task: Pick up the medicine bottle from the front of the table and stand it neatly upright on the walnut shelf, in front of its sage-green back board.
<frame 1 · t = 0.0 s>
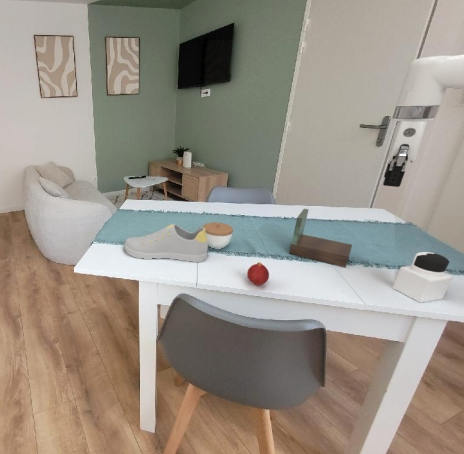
hand: (391, 181, 78), 30 cm above the table, tool pointing down, fingers open, 9 cm apart
shoe: (164, 255, 108), on the table
trinket box: (215, 246, 113), on the table
onion: (255, 285, 88), on the table
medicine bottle: (416, 294, 81), on the table
shelf: (318, 254, 103), on the table
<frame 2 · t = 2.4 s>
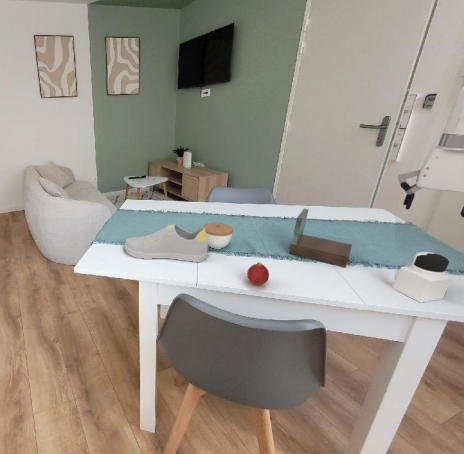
hand: (433, 211, 73), 23 cm above the table, tool pointing down, fingers open, 9 cm apart
nothing on the table moved.
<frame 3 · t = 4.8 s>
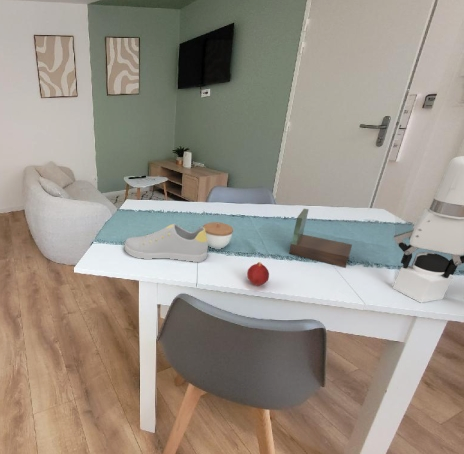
hand: (424, 270, 78), 7 cm above the table, tool pointing down, fingers closed on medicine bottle, 6 cm apart
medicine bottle: (416, 294, 80), on the table, touching gripper
everything else where it was.
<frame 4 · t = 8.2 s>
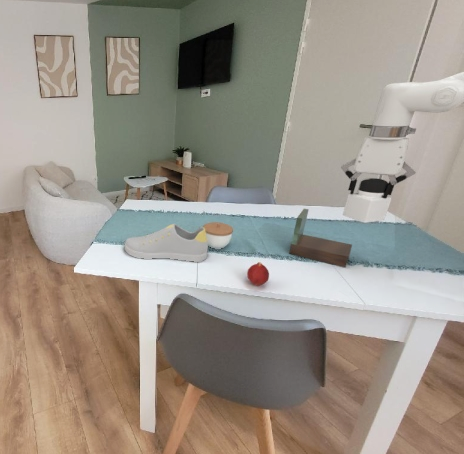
hand: (368, 194, 86), 24 cm above the table, tool pointing down, fingers closed on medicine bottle, 6 cm apart
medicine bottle: (362, 218, 89), point 16 cm above the table, touching gripper
everything else where it was.
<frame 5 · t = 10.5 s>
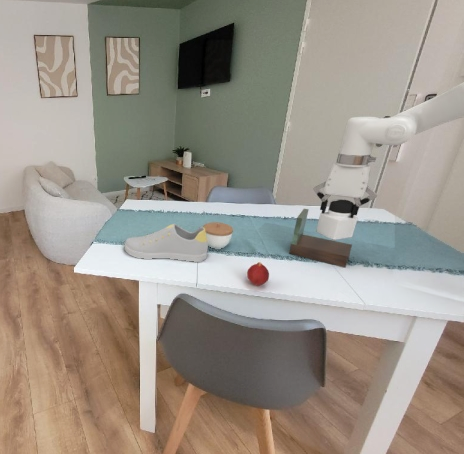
hand: (337, 214, 95), 16 cm above the table, tool pointing down, fingers closed on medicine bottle, 6 cm apart
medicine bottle: (333, 235, 98), point 8 cm above the table, touching gripper
everything else where it was.
when the fingers open (11 cm above the table, at t = 12.1 s): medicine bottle stays where it is, resting on shelf.
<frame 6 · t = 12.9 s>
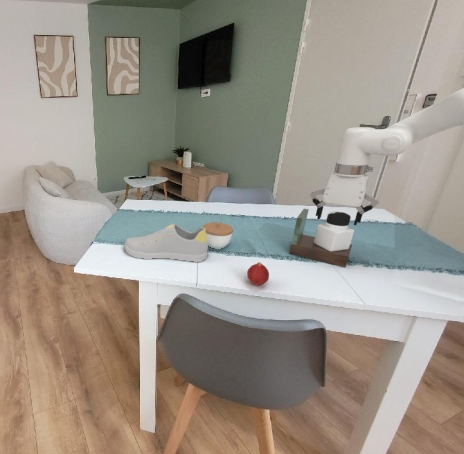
hand: (336, 221, 96), 13 cm above the table, tool pointing down, fingers open, 9 cm apart
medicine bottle: (330, 246, 100), point 4 cm above the table, touching shelf
everything else where it was.
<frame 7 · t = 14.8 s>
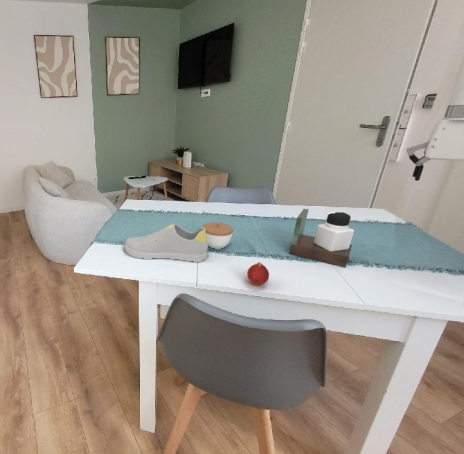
hand: (442, 181, 77), 29 cm above the table, tool pointing down, fingers open, 9 cm apart
nothing on the table moved.
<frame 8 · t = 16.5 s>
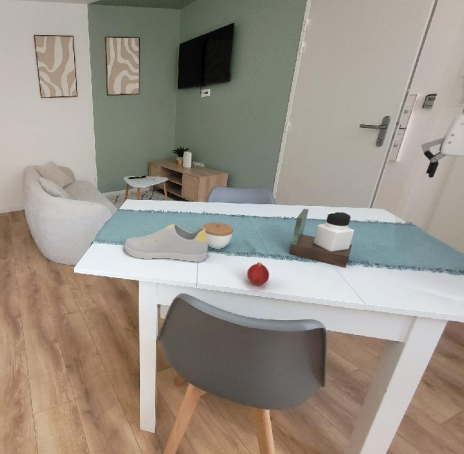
hand: (457, 178, 75), 30 cm above the table, tool pointing down, fingers open, 9 cm apart
nothing on the table moved.
at the end: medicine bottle inside the target area on the shelf (1.6 cm from its centre), point 3.8 cm above the shelf's base; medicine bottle tilted 0°; the gripper is holding nothing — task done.
